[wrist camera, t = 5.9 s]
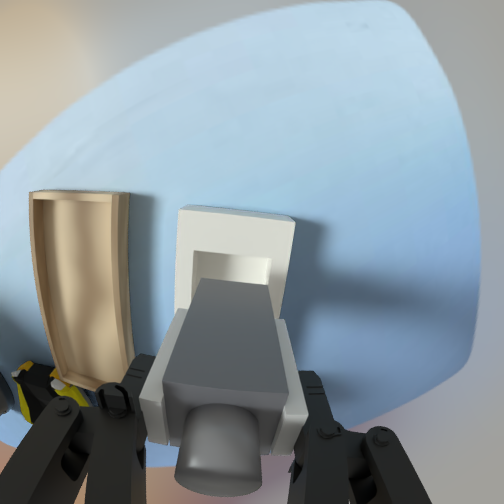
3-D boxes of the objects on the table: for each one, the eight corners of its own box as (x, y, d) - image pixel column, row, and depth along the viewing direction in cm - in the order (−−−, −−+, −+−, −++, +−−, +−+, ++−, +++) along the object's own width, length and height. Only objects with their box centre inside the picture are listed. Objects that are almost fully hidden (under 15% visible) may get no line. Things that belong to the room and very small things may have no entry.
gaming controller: (114, 422, 28) (86, 368, 26) (102, 451, 23) (67, 397, 20) (40, 403, 28) (12, 353, 25) (26, 425, 23) (-7, 374, 20)
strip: (184, 431, 28) (181, 454, 25) (187, 204, 21) (175, 210, 17) (247, 438, 29) (248, 461, 25) (288, 215, 22) (297, 224, 18)
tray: (68, 369, 26) (60, 380, 23) (43, 189, 20) (29, 192, 18) (140, 389, 26) (134, 402, 24) (129, 192, 21) (118, 194, 18)
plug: (201, 277, 16) (141, 440, 5) (267, 285, 16) (300, 455, 5) (198, 333, 17) (160, 493, 6) (259, 340, 18) (272, 504, 6)
